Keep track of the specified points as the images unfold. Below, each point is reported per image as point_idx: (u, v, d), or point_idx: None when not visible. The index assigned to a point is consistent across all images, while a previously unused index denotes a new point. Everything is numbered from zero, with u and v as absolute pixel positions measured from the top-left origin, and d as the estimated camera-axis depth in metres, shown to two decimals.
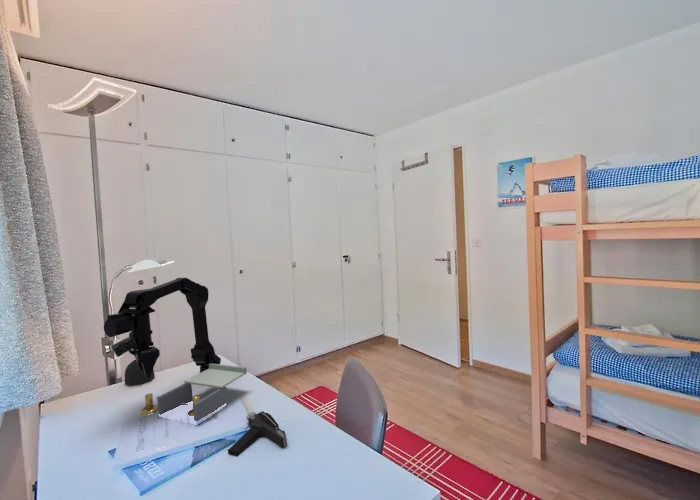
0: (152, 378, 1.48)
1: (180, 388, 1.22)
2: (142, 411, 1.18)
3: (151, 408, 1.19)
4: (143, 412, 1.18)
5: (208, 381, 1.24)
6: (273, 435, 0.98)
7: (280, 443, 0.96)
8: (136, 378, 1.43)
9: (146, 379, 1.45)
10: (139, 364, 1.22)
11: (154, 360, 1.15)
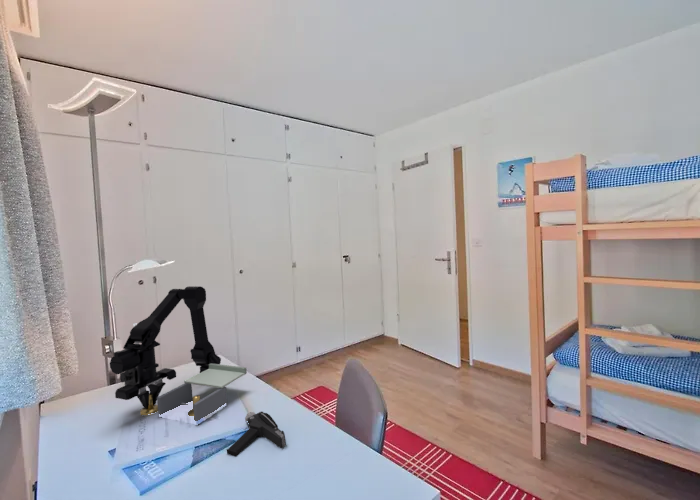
0: None
1: (180, 388, 1.22)
2: (142, 411, 1.18)
3: (151, 408, 1.19)
4: (143, 412, 1.18)
5: (208, 381, 1.24)
6: (272, 435, 0.98)
7: (279, 443, 0.96)
8: None
9: None
10: None
11: (143, 396, 1.16)
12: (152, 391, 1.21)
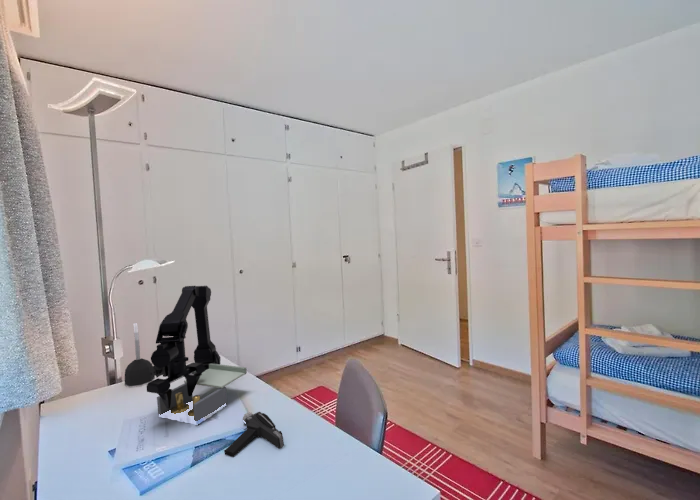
0: (152, 378, 1.48)
1: (180, 388, 1.22)
2: (173, 410, 1.16)
3: (182, 407, 1.17)
4: (174, 411, 1.16)
5: (208, 381, 1.24)
6: (269, 435, 0.98)
7: (277, 443, 0.96)
8: (136, 378, 1.43)
9: (146, 379, 1.45)
10: (188, 389, 1.22)
11: (166, 394, 1.11)
12: (189, 381, 1.22)
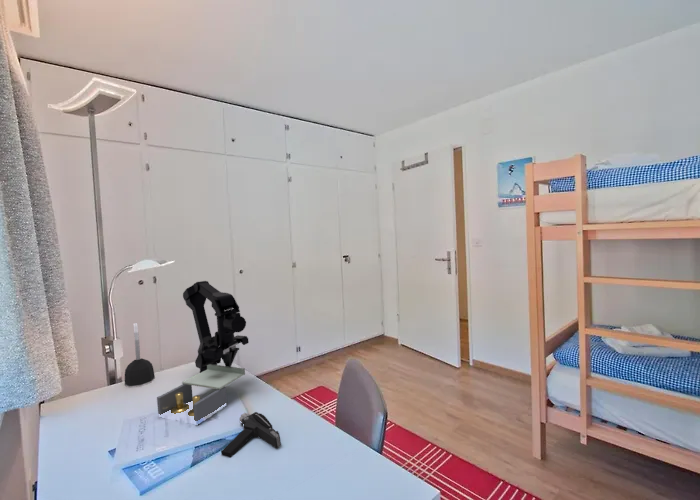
0: (152, 378, 1.48)
1: (180, 388, 1.22)
2: (173, 410, 1.16)
3: (182, 407, 1.17)
4: (174, 411, 1.16)
5: (206, 382, 1.23)
6: (266, 436, 0.98)
7: (274, 443, 0.96)
8: (136, 378, 1.43)
9: (146, 379, 1.45)
10: None
11: (227, 356, 1.31)
12: None
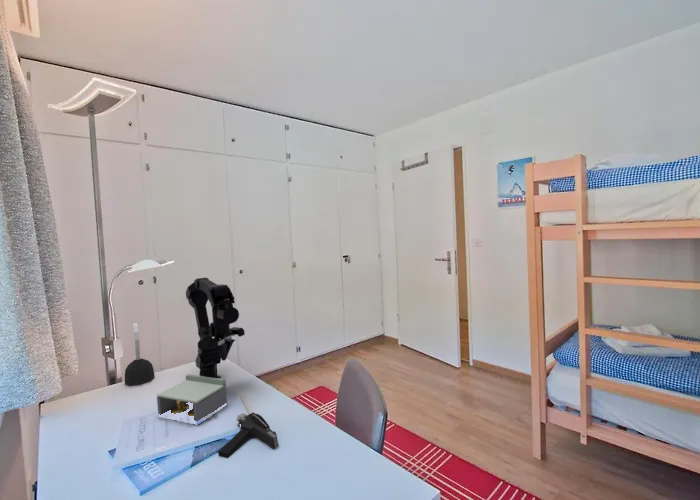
0: (152, 378, 1.48)
1: None
2: (173, 410, 1.16)
3: (181, 407, 1.17)
4: (174, 411, 1.16)
5: (183, 395, 1.13)
6: (264, 436, 0.98)
7: (271, 444, 0.96)
8: (136, 378, 1.43)
9: (146, 379, 1.45)
10: None
11: (222, 347, 1.29)
12: None
